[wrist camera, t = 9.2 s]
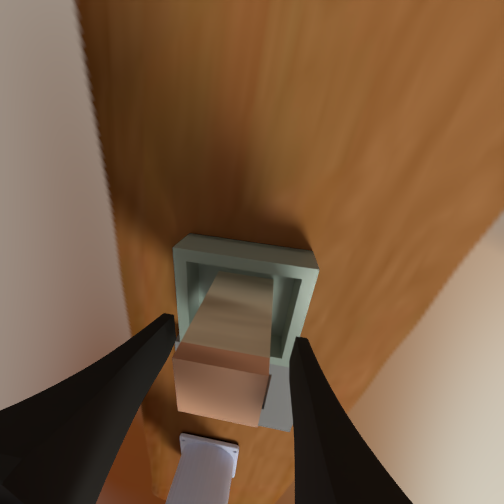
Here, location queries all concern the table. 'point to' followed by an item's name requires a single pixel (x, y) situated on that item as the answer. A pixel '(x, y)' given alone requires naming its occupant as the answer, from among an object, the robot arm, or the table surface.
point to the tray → (252, 264)
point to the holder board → (274, 398)
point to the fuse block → (227, 351)
